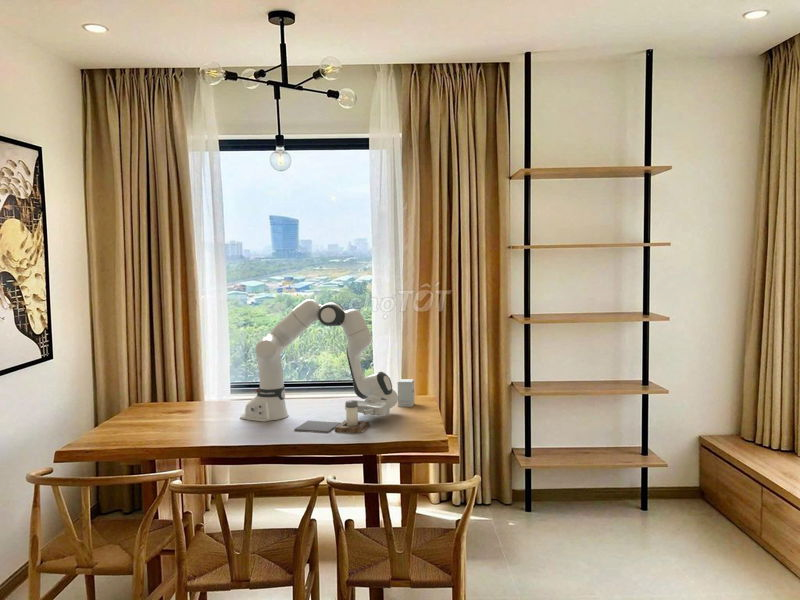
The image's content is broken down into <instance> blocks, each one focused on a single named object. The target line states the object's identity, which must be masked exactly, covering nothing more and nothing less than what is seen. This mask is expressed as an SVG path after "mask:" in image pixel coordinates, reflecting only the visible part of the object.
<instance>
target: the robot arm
mask: <svg viewBox="0 0 800 600" xmlns="http://www.w3.org/2000/svg"><path fill="white" fill-rule="evenodd" d="M318 321H319V323H321V325H323V326H325V327H339V326H340V327H341V328H342V330H343V332H344V334H345V337H346V339H347V340H346V341H347V348H346V357H347V362H348V367H349V371H350V374H351V378H352V385H353V387H352V388H353V392H354V394H355V395H356V396H357V397H358V398H360V399H362V400H357V399H356V400H355V401H358V406H357V407H358V413H359V414H360V413H361V414H363V415H366V416H367V415H369V416H370V415H371V416H385V415H389V414H390V411H391V409H392V408H394V407H395V406H396V404H398V392H396V390H395V389H393V385H392V380H391V378H390V377H389V375H387V374H386V373H385V372H384V371H379V372H376V373H372V374H370V375H367V376H365V375H364V371H363V368H362V364H361V355H362V354H363V353H364V352H365V351H366V350H367V349H368V348H369V346H370V344H371V342H372V334H371V331H370V328H369V327H368V324H367V322H366V320H365V318H364V316H363V315H362V314H361V312H360V311H359V309H356V308H351V309H347V310H344V308H343V306H342V305H341V304H340V303H338V302H336V301H335V302H334V301H329V302H326V303H322V304H319V302H318V301H316V300H314V299H312V298H307V299H305V300H304V301H302V302H300V303H299V304H298V305H297V306H295V307H294V308H293V309H292V310H291V311H289V313H288V314H287V315H285V316H284V317H283V318H282V320H280V321H279V322H278V323H277V324H276V325H275V326H274V327H273V328H272V329H271V330H270V331H269V332H267V334H266V335H264V336H263V337H262V338H261V339H259V340H258V341H257V343H256V346H255V354H256V359H257V360H256V362H257V366H258V373H259V387H258V388H257V389H255V391H254V393H257V394H256V396H255V397H253V398H252V399H251V400H250V401H249V402H248V403H246V405H245V409H244V413H242V414H241V415H240V419H241V420H248V421H254V422H255V421H256V422H270V421H276V420H282V419H285V418H287V417H289V413H288V409H287V405H286V388H285V387H286V386H285V385H284V384H285V383H284V381H285V380H284V369H283V364H282V356H281V355H282V352H283V351H285V350H286V349H287V348H288V347H290V345H291V344H292V343H294V341H296V340H297V338H299V337H300V336H301V335H302V334H303V333H304V332H305V331H306V330H307V329H308V328H310V326H311V325H312V324H313V323H315V322H318ZM344 409H345V411H346V402H345V404H344Z"/></svg>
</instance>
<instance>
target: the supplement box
mask: <svg viewBox="0 0 800 600" xmlns="http://www.w3.org/2000/svg"><path fill="white" fill-rule="evenodd" d="M397 395H398V401H397V407H398V408H399V407H400V408H413V406H414V404H415V379H414V378H413V379H412V378H409V379H407V378H405V379H404V378H401V379H399V380H398V381H397Z"/></svg>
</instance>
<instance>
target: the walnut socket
mask: <svg viewBox="0 0 800 600" xmlns="http://www.w3.org/2000/svg"><path fill="white" fill-rule="evenodd" d="M368 426H369V427H370V421H366V420H365V421H364V420H358V426H357V427H352V426H347V423H346V420H345V419H344V420H343V421H342V422H340V424H339V425H337V426H336V427H335V429H334V432H335V431H336V432H335V433H347V432H350V433H352V434H361V433H363V432H364V431H365V430H366V429H368V428H369V427H368ZM367 427H368V428H367ZM362 431H363V432H362Z"/></svg>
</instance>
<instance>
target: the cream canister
mask: <svg viewBox="0 0 800 600" xmlns="http://www.w3.org/2000/svg"><path fill="white" fill-rule="evenodd" d="M358 401H359V400H358ZM358 401H355V400H353V399H352V400H346V401H345V403H346V410H345V419H346V423H347V426H352V427H357V426H358V421H359V415H358V413H359V412H358V407H357V406H358Z"/></svg>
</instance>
